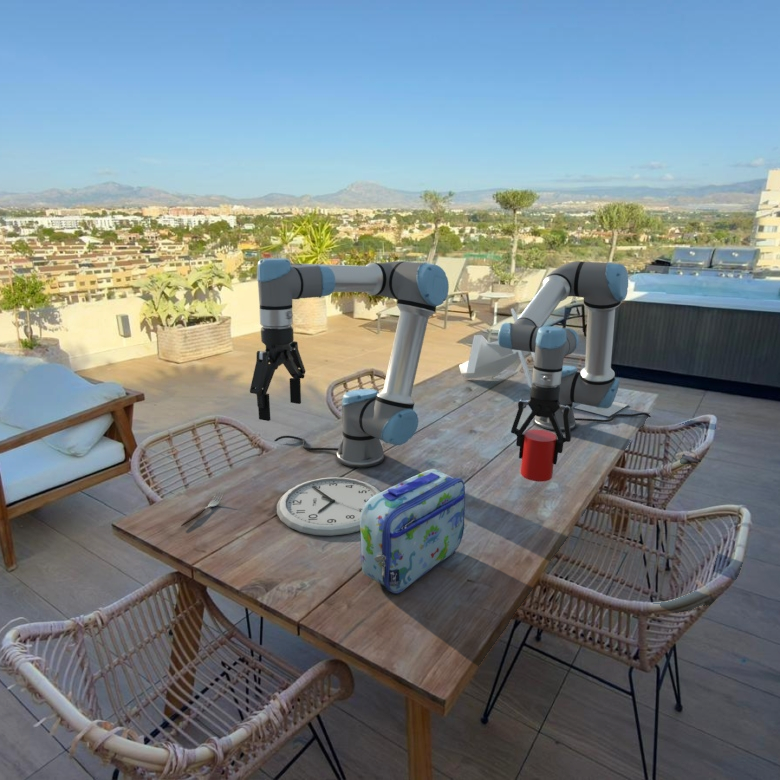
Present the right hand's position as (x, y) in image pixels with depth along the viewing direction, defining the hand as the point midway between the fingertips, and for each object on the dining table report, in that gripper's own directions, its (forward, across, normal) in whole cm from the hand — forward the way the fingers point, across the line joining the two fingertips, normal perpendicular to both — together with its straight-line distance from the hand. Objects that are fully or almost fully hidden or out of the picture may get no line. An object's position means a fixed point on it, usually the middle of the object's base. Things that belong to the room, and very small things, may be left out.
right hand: (537, 459), depth 149 cm
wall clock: (+10, -50, -31) cm, 59 cm away
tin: (+5, 0, 0) cm, 5 cm away
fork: (+10, -79, -48) cm, 93 cm away
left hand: (-19, -59, -40) cm, 74 cm away
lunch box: (+10, -20, -48) cm, 53 cm away
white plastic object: (+11, -30, +102) cm, 107 cm away
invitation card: (+11, +17, +90) cm, 92 cm away
